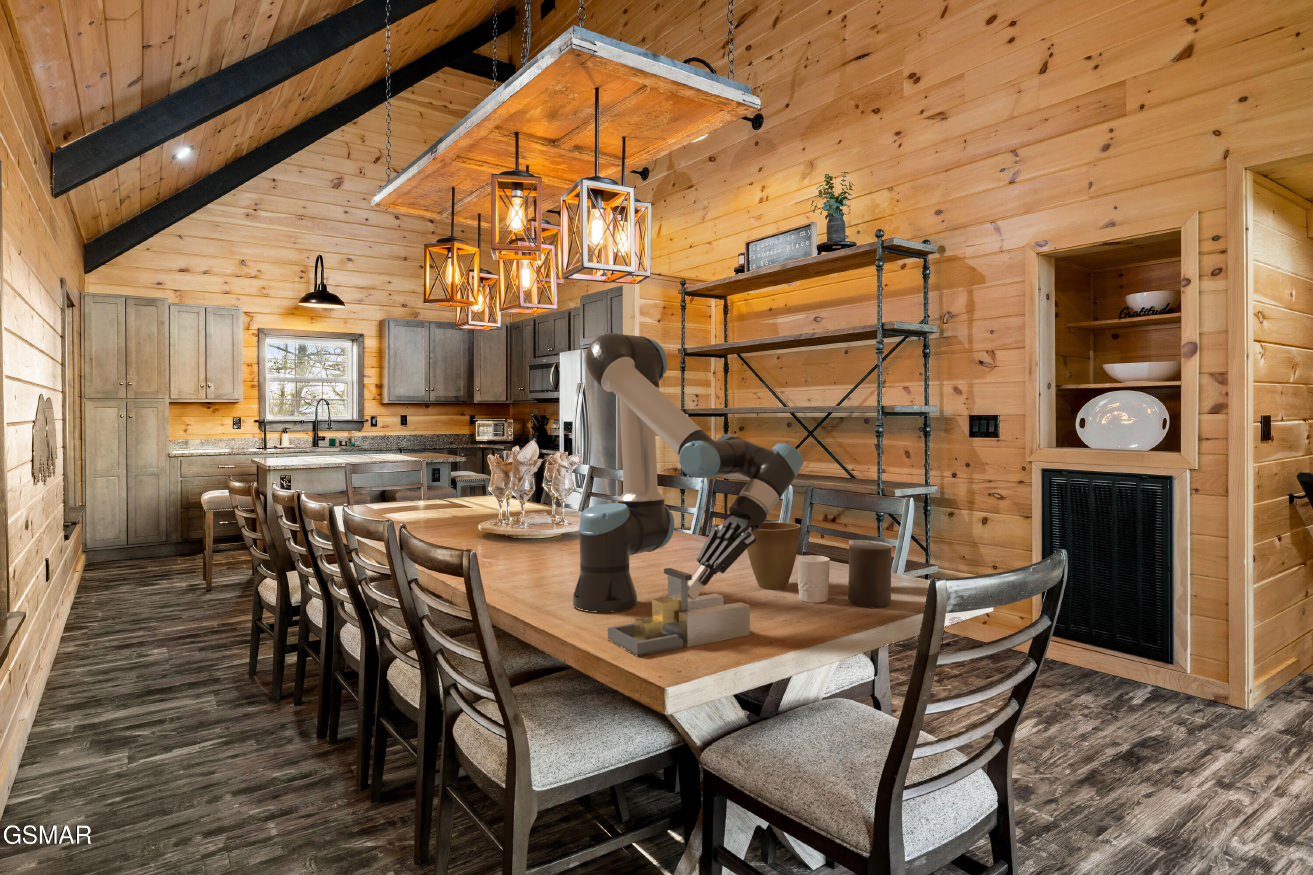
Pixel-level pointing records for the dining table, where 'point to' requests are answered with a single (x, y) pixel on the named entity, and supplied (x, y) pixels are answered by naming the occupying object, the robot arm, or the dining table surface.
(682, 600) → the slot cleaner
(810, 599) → the white cup
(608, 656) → the dining table surface
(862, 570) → the pillar candle
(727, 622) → the slotted rail
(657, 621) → the brass chip
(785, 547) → the plant pot
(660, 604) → the brass chip
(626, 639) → the tray
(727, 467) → the robot arm
